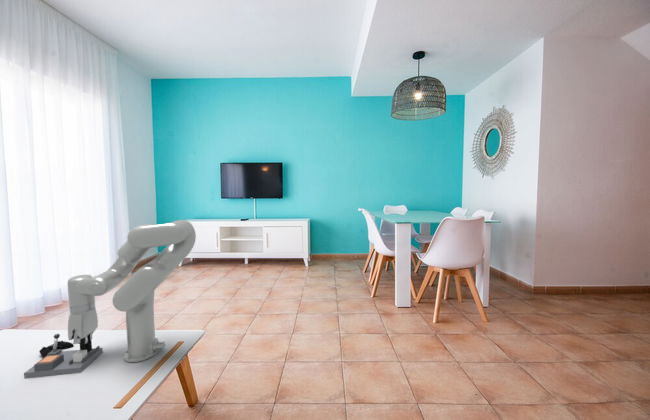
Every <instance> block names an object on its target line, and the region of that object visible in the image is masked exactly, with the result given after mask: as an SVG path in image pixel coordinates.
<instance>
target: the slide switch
mask: <svg viewBox="0 0 650 420" xmlns="http://www.w3.org/2000/svg"><path fill="white" fill-rule="evenodd" d="M77 350H78V351H77V352H76V353H75V354H73V363H74V362H81V360H82V359H84V358H85V357H86V356H87V350H80V349H77Z"/></svg>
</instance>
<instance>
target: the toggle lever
mask: <svg viewBox="0 0 650 420" xmlns="http://www.w3.org/2000/svg"><path fill="white" fill-rule="evenodd" d="M60 336H61V335H60V333H56V334H54V335H53V338H54V340H53V344H54V346H53V351H55V350H56V348H57V342H58V341H59V338H60Z"/></svg>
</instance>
